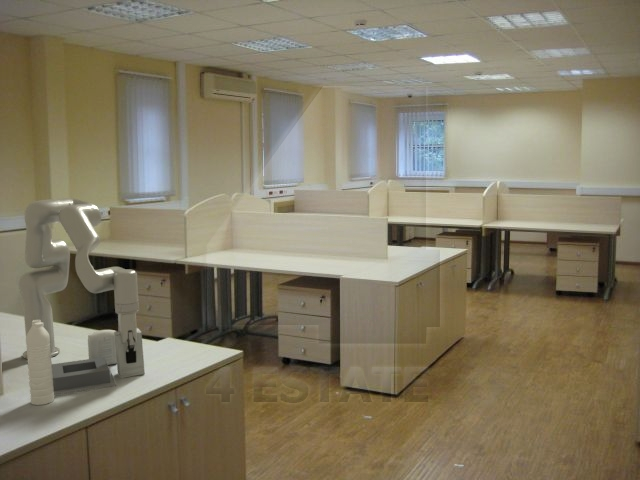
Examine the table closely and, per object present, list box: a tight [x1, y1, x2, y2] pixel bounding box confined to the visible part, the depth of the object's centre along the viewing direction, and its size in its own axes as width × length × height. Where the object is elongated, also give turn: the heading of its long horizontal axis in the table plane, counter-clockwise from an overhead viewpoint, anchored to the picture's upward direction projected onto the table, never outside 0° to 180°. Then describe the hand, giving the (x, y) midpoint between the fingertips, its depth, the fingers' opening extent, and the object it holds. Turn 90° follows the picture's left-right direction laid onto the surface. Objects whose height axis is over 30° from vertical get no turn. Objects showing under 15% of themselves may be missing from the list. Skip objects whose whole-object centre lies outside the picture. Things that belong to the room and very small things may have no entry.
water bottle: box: [25, 320, 55, 406], centre depth 193 cm, size 9×6×25 cm
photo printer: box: [87, 329, 117, 366], centre depth 228 cm, size 10×4×12 cm, turn 123°
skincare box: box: [114, 327, 145, 379], centre depth 217 cm, size 8×6×15 cm
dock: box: [51, 357, 117, 397], centre depth 211 cm, size 18×20×5 cm
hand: (129, 359), depth 218 cm, fingers closed on skincare box, 5 cm apart
